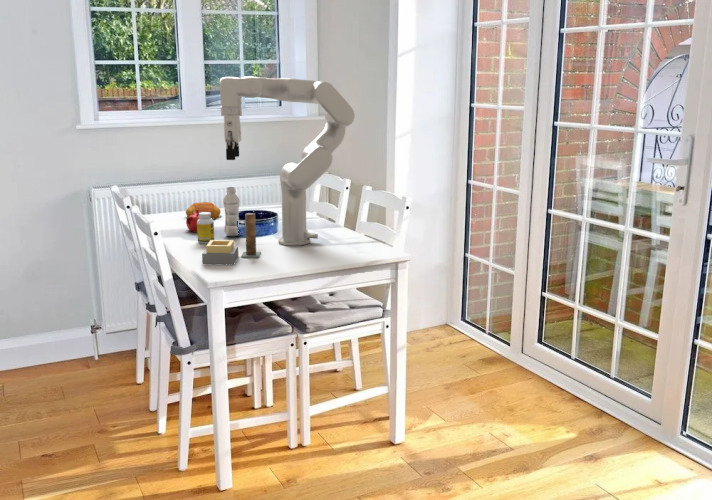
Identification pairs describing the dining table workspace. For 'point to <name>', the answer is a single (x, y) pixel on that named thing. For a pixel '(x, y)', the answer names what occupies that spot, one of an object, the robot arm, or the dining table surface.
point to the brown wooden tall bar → (250, 234)
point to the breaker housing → (220, 252)
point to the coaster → (251, 255)
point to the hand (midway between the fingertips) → (232, 158)
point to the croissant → (204, 209)
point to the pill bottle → (205, 227)
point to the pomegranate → (193, 221)
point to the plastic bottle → (231, 212)
